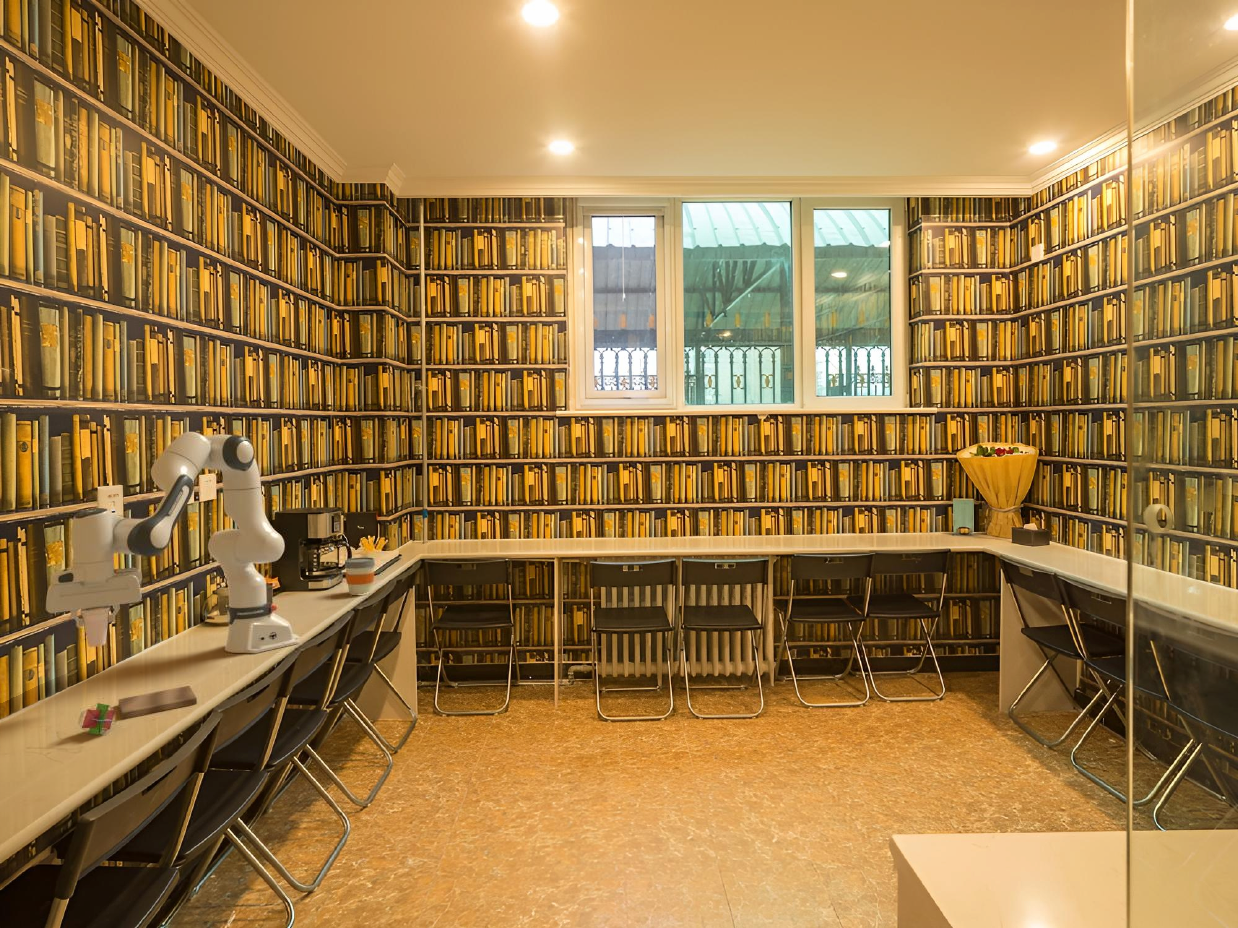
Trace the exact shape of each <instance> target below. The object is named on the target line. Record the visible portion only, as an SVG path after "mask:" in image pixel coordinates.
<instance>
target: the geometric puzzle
mask: <svg viewBox="0 0 1238 928" xmlns="http://www.w3.org/2000/svg"><path fill="white" fill-rule="evenodd" d="M96 705H97V706H96ZM95 706H96V707H95V708H94V707H91V708H88V709H86V710H83V711H81V713H80V715H79V717H78V722H77V724H78V726H79V727H80V728H81V729H82V730H83V731H86V732H87V734H92V735H97V736H99V737H100V736H101V734H102V733H101V732H102V731H103V730H104V732H106V731H108V730H109V729H111V727H112V726H113V725H114V723H113V722H115V723H116V722H117V721H118V720H117V718H116V716H115V715H116V711H117V710H116V709H114V708H112V709H110V707H111V705H110V704H104V703H100V702H97V703H96V704H95ZM83 718H84V720H83ZM114 719H115V720H114ZM88 729H89V730H88Z"/></svg>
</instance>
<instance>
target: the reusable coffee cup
mask: <svg viewBox="0 0 1238 928" xmlns="http://www.w3.org/2000/svg"><path fill="white" fill-rule="evenodd" d="M375 566H376V563H375V558H373V557H367V556H366V557H364V556H363V557H361V556H360V557H352V558H347V559H345V561H344V568H345V579H346V585H348V592H349V595H350V594H352V595H358V594H364V593H367V592H370V591H371V592H372V587H373V583H374V578H375ZM352 595H351V596H352Z"/></svg>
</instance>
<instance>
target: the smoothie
mask: <svg viewBox="0 0 1238 928" xmlns="http://www.w3.org/2000/svg"><path fill="white" fill-rule="evenodd" d="M110 611H111V606H103V607H95V608H87V609H80V615H81V616H82V618H83V621H84V622H83V623H84V626H83V627H84V631H85V635H86V641H87V647H88V648H89V647H90V648H92V647H93V648H96V647H102V646H104V645H106V643H107V633H108V625H109V622H108V616H109V615H110Z"/></svg>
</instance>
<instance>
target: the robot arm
mask: <svg viewBox="0 0 1238 928" xmlns="http://www.w3.org/2000/svg"><path fill="white" fill-rule="evenodd" d="M255 451H256V450H255V447H254V445H253V442H252V441H251V440H250V439H249V437H245V436H244V435H238V434H233V435H232V434H223V433H222V434H218V433H217V434H213V435H212V434H210V435H202V434H201V433H198V432H196V431H186V432H183V433H182V434H180V435H179V436H177V437H176V438H175V439H174V440H173V441H171V443H170V444H169V445H167V447H166V448H164V450H163V451H162V452H161V454H160V455H159V456H158V457H157V459H156V460H155V461H154V463H153V464H152V467H151V469H150V476H151V478H152V481H153V483H154V484H155V485H156V486H157V487H158V488H159V489H160V490H162V492H165V493H164V496H163V497H162V499H161V501H160V503H159V505H157V507H156V509H155V511H154V513H152V514H151V515H150V516H147V517H145V518H128V517H126V516H120V515H117V514H115V513H113V512H111V511H110V510H109V509H108V508H105V507H98V508H97V507H96V508H90V509H89V508H88V509H85V510H82V511H79V512H78V513H76V514H74V517H73V519H72V522H71V528H70V529H71V532H70V537H71V539H70V541H71V548H72V550H73V558H72V561H71V562H72V563H71V564H72V566H69V567H66V568H63V569H61V570H58V571H57V570H56V571H55V572H53V573H52V574H51V576H50V579H51V584H50V585H49V586H48V589H47V594H46V598H45V599H46V601H45V611H47V612H48V613H50V614H54V613H61V612H69V611H70V616H71V617H72V618H73V619H74V620H75V625H76V628H79V627H84V621H83V617H82V618H80V617H78V616H77V614H78V612H79V611H80V610H81V609H87V608H95V607H103V606H110V607H111V606H112V609H113V611H112V613H111V614H109V616H108V624H109V623H116V615H118V612H119V610H120V609H121V607H120V605H125V604H132V603H139V602H140V601H141V600H142V597H143V596H142V589H141V585H140V583H141V582H142V580H143V573H142V571H141V570H140V569H139V568H136V567H129V568H115V556H114V555H115V554H122V555H134V556H135V555H136V556H141V557H147V558H154V557H157V556H158V555H160V554H162V553H163V552H165V550H166V549H167V548H168V546H169V544H170V542H171V540H172V537H173V533H174V530H175V527H176V525H177V524H178V522H179V520H180V519H181V516H182V514H183V512H184V511H185V510H186V507H187V505H188V503H189V502H190V500H191V498H192V496H193V493H194V491H195V483H194V481H195V480H196V478H197V476H198V475H199V473H200V472H201V471H202V470H209V471H210V470H211V471H221V473H222V492H223V506H224V512H225V514H226V515H227V516H228V517H229V518H230V519H232V520H233V522H234V523H235V524H236V526H237V528H228V529H222V530H218V531H216V532H214V533H213V534H212V535H211V537H210V538H209V540H208V542H207V543H208V544H207V549H208V553H209V555H210V557H212V558H213V559H214V560H215V561H216V562H217V563H218V564H219V566H220V568H221V569H222V571H223V573H224V575H225V578H226V582H227V588H228V604H229V605H228V606H227V623H228V632H227V639H226V644H225V647H224V651H225V652H228V653H235V654H236V653H238V654H240V653H241V654H243V653H244V654H245V653H247V654H258V653H263V652H267V651H270V650H276V649H280V648H284V647H288V646H293V645H297V644H299V643H301V637H300V636H299V635H298V634H297V633H294V632H293V628H292V625H291V623H290V622H289V621H288V620H287V619H285V618H283V617H282V616H280V615H278V614H276V613H274V612H275V611H277V610H278V605H276V604H274V603H272V602H269V601H267V600H268V599H267V597H268V596H267V580H266V578H265V577H264V575H262V574H261V573H260V572H258V570H257V569H256V567H255V565H254V564H260V565H261V564H268V563H273V562H276V561H278V560H279V559H280V558H281V557H282V555H283V553H284V552H285V547H286V546H285V540H284V538H283V536H282V535H281V534H280V533H278V531H276V530H275V528H273V526H272V525H271V523H270V521H269V519H268V518H267V516H266V512H265V509H264V505H263V494H262V483H261V476H260V470H259V467H258V466H259V465H258V463H257V460H256V459H255V454H256V452H255Z"/></svg>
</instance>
